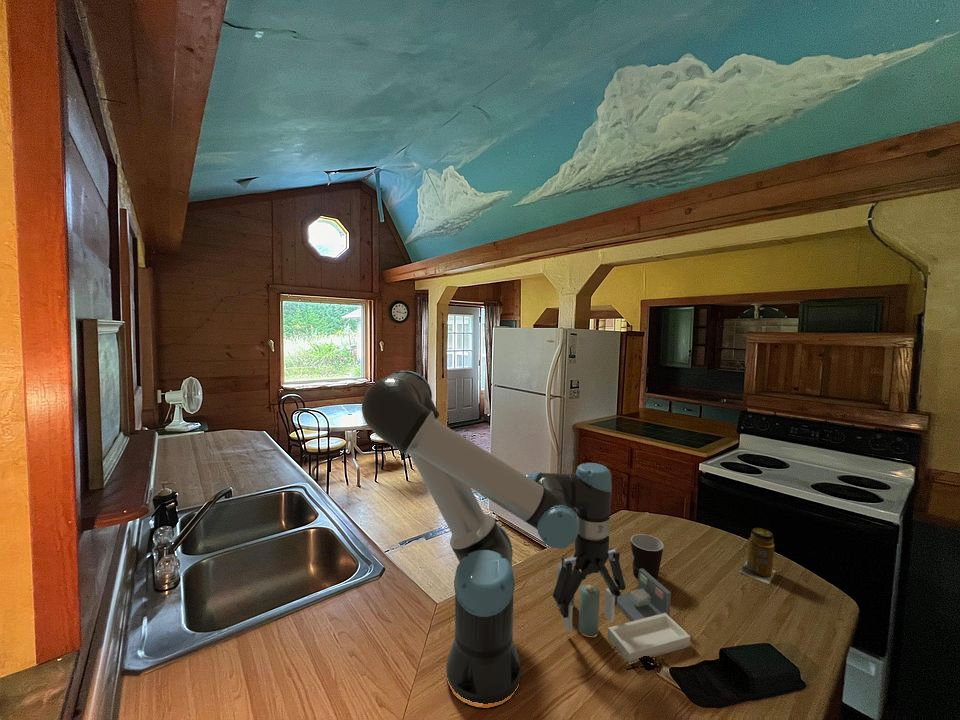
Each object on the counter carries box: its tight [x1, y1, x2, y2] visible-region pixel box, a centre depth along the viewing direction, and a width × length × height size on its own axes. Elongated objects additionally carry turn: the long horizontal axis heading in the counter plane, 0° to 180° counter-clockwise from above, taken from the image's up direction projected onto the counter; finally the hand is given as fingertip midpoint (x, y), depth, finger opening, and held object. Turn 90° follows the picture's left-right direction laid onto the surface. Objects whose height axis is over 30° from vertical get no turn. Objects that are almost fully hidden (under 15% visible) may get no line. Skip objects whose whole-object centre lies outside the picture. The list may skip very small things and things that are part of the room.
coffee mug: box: [630, 533, 665, 581], centre depth 117 cm, size 12×9×10 cm
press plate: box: [630, 588, 651, 607], centre depth 102 cm, size 4×3×2 cm
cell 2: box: [578, 583, 601, 636], centre depth 95 cm, size 4×4×11 cm
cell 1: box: [555, 563, 575, 608], centre depth 104 cm, size 4×4×11 cm
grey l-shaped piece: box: [616, 568, 672, 622], centre depth 102 cm, size 9×10×7 cm
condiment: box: [738, 527, 777, 585], centre depth 118 cm, size 7×8×12 cm
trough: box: [607, 613, 691, 664], centre depth 92 cm, size 16×8×2 cm, turn 108°
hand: (588, 623), depth 96 cm, fingers open, 10 cm apart
